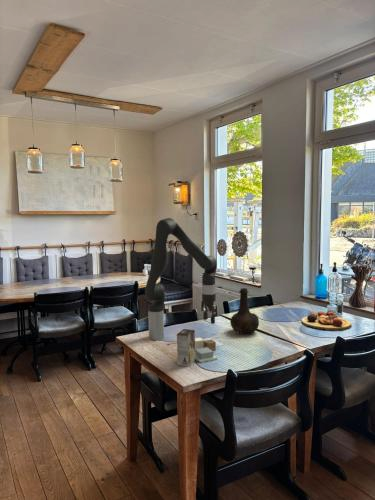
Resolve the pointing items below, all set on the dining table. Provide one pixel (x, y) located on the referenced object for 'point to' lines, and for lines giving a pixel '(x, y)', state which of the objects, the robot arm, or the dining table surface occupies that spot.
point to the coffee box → (186, 347)
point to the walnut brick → (209, 344)
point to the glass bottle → (244, 316)
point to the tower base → (204, 355)
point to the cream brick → (198, 343)
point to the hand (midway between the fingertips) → (209, 321)
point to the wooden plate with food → (325, 321)
